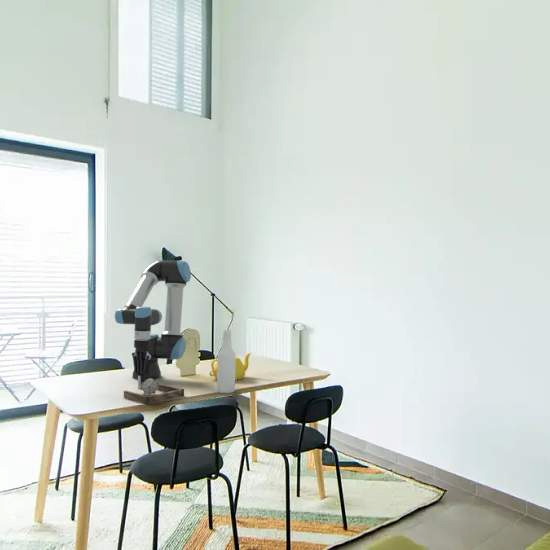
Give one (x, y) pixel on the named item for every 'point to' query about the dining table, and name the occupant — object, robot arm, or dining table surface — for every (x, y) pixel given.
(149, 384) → the game die
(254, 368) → the dining table surface
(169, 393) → the brown wooden bar
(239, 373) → the teapot
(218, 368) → the alcohol
